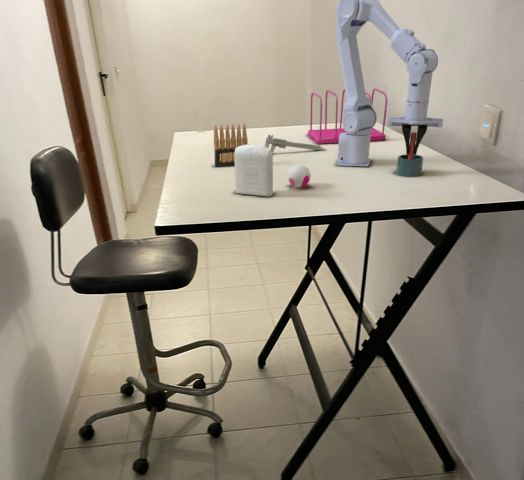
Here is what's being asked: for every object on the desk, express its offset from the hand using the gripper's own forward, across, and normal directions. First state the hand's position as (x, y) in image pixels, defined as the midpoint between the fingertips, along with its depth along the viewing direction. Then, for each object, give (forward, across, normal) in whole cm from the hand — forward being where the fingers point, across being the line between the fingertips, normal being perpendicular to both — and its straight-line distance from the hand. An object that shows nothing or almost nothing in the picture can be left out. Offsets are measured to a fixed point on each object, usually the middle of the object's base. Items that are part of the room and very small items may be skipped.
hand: (411, 153), depth 149 cm
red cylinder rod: (+4, 0, 0) cm, 4 cm away
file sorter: (+6, -24, +46) cm, 52 cm away
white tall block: (+6, -39, -27) cm, 48 cm away
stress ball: (+6, -28, -19) cm, 34 cm away
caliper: (+6, -38, +21) cm, 44 cm away
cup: (+5, 0, 0) cm, 5 cm away
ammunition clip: (+6, -54, +1) cm, 54 cm away
